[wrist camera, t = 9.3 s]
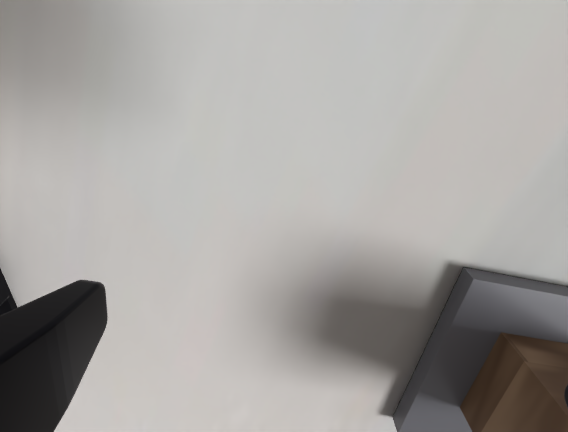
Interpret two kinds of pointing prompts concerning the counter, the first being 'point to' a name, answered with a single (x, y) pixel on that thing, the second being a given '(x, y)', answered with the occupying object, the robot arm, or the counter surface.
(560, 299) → the flat gray plate
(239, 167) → the counter surface
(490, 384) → the tan square box
